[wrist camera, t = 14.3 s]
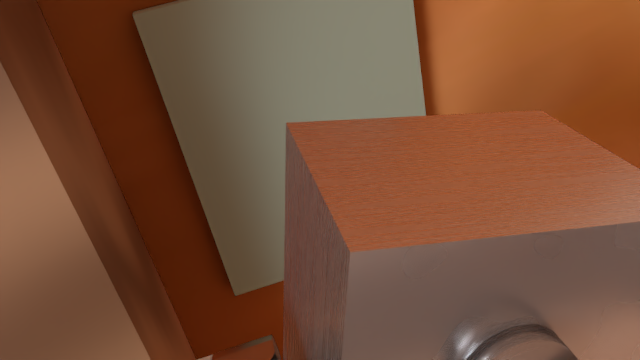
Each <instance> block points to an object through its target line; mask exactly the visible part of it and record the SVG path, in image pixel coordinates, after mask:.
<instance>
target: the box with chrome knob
mask: <svg viewBox="0 0 640 360" xmlns="http://www.w3.org/2000/svg"><path fill="white" fill-rule="evenodd" d="M283 360H640V169H638V168H637V167H635V166H633V165H632V164H630V163H628V162H627V161H625V160H623V159H622V158H620V157H618V156H617V155H615V154H613V153H612V152H610V151H608V150H607V149H605V148H603V147H602V146H600V145H598V144H597V143H595V142H593V141H592V140H590V139H588V138H587V137H585V136H583V135H582V134H580V133H578V132H576V131H575V130H573V129H571V128H570V127H568V126H566V125H565V124H563V123H561V122H560V121H558V120H556V119H555V118H553V117H551V116H550V115H548V114H546V113H545V112H543V111H541V110H531V111H511V112H491V113H471V114H451V115H431V116H411V117H391V118H370V119H350V120H330V121H310V122H290V123H286V162H285V240H284V319H283Z"/></svg>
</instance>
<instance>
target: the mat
mask: <svg viewBox="0 0 640 360" xmlns="http://www.w3.org/2000/svg"><path fill="white" fill-rule="evenodd" d="M132 15H133V18H134V21H135V24H136V26H137V29H138V32H139V34H140V37H141V40H142V43H143V45H144V48H145V51H146V54H147V56H148V59H149V62H150V65H151V67H152V70H153V73H154V76H155V78H156V81H157V84H158V86H159V89H160V92H161V95H162V97H163V100H164V103H165V106H166V108H167V111H168V114H169V117H170V119H171V122H172V125H173V128H174V130H175V133H176V136H177V138H178V141H179V144H180V147H181V149H182V152H183V155H184V158H185V160H186V163H187V166H188V169H189V171H190V174H191V177H192V180H193V182H194V185H195V188H196V190H197V193H198V196H199V199H200V201H201V204H202V207H203V210H204V212H205V215H206V218H207V221H208V223H209V226H210V229H211V232H212V234H213V237H214V240H215V242H216V245H217V248H218V251H219V253H220V256H221V259H222V262H223V264H224V267H225V270H226V273H227V275H228V278H229V281H230V284H231V286H232V289H233V292H234V294H235V296H237V295H240V294H243V293H246V292H249V291H252V290H255V289H259V288H262V287H265V286H268V285H271V284H274V283H277V282H280V281H283V280H284V240H285V162H286V123H290V122H310V121H330V120H350V119H370V118H391V117H411V116H426V111H425V102H424V93H423V84H422V75H421V66H420V57H419V48H418V39H417V30H416V21H415V12H414V3H413V0H177V1H173V2H169V3H166V4H162V5H158V6H154V7H150V8H146V9H142V10H138V11H134V12H133V14H132Z"/></svg>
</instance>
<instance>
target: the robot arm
mask: <svg viewBox="0 0 640 360" xmlns="http://www.w3.org/2000/svg"><path fill="white" fill-rule="evenodd" d="M197 360H281V357H280V353H279V350H278V347H277V345H276V342H275V340H274V337H273V336H272V335H269V336H266V337H263V338H260V339H256V340H253V341H250V342H247V343H244V344H241V345H238V346H235V347H232V348H229V349H225V350H222V351H219V352H216V353H213V355H210V356H206V357H203V358H200V359H197Z"/></svg>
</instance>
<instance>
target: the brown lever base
mask: <svg viewBox="0 0 640 360" xmlns="http://www.w3.org/2000/svg"><path fill="white" fill-rule="evenodd" d="M0 360H196V358H195V355H194V353H193V351H192V349H191V346H190V344H189V342H188V340H187V337H186V335H185V333H184V331H183V329H182V326H181V324H180V322H179V320H178V317H177V315H176V313H175V311H174V308H173V306H172V304H171V302H170V299H169V297H168V295H167V293H166V290H165V288H164V286H163V284H162V281H161V279H160V277H159V275H158V272H157V270H156V268H155V266H154V263H153V261H152V259H151V257H150V254H149V252H148V250H147V248H146V246H145V243H144V241H143V239H142V237H141V234H140V232H139V230H138V228H137V225H136V223H135V221H134V219H133V216H132V214H131V212H130V210H129V207H128V205H127V203H126V201H125V198H124V196H123V194H122V192H121V189H120V187H119V185H118V183H117V180H116V178H115V176H114V174H113V171H112V169H111V167H110V165H109V163H108V160H107V158H106V156H105V154H104V151H103V149H102V147H101V145H100V142H99V140H98V138H97V136H96V133H95V131H94V129H93V127H92V124H91V122H90V120H89V118H88V115H87V113H86V111H85V109H84V106H83V104H82V102H81V100H80V97H79V95H78V93H77V91H76V88H75V86H74V84H73V82H72V80H71V77H70V75H69V73H68V71H67V68H66V66H65V64H64V62H63V59H62V57H61V55H60V53H59V50H58V48H57V46H56V44H55V41H54V39H53V37H52V35H51V32H50V30H49V28H48V26H47V23H46V21H45V19H44V17H43V14H42V12H41V10H40V8H39V5H38V3H37V1H36V0H0Z"/></svg>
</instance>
